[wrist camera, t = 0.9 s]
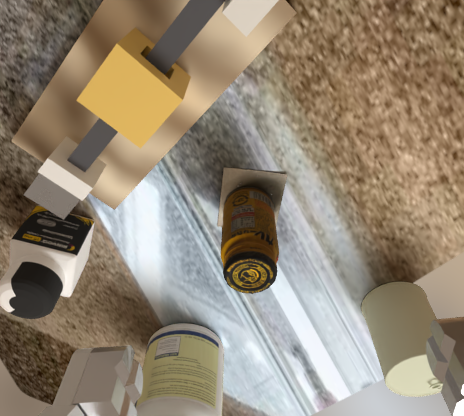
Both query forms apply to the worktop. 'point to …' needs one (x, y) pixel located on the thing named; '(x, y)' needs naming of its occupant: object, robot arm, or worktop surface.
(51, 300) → the medicine bottle
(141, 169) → the board
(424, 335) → the can
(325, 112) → the worktop surface
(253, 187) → the condiment
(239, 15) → the white bar support
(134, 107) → the sleeve
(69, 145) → the white rectangular block
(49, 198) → the block
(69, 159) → the dark gray bar
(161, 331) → the supplement tub
